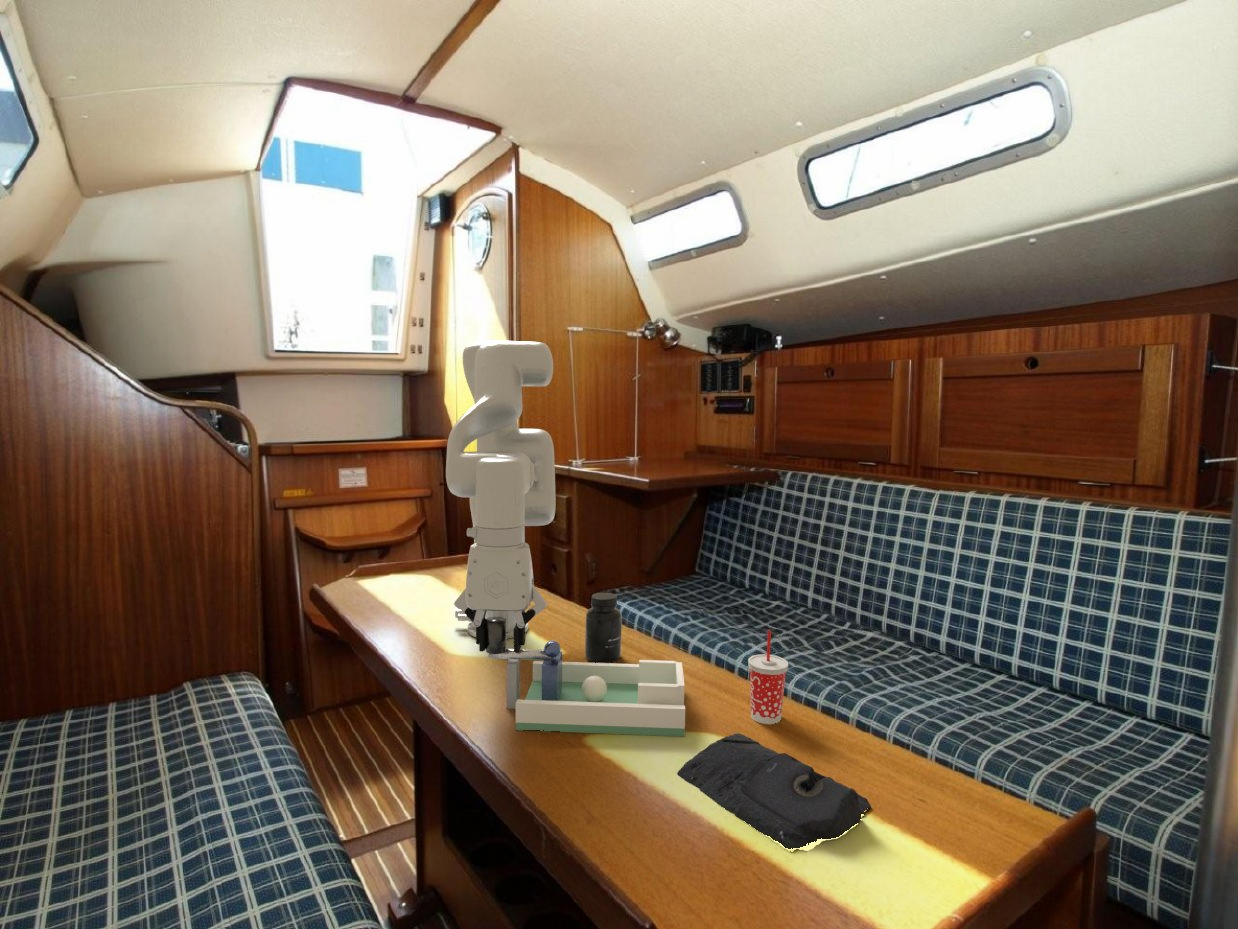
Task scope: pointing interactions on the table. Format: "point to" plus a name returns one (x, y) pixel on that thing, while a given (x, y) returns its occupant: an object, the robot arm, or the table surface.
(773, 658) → the beverage cup
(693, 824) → the table surface
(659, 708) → the pitch
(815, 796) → the dark slate chunk
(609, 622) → the supplement bottle
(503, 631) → the table football player
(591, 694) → the ball
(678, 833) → the table surface
